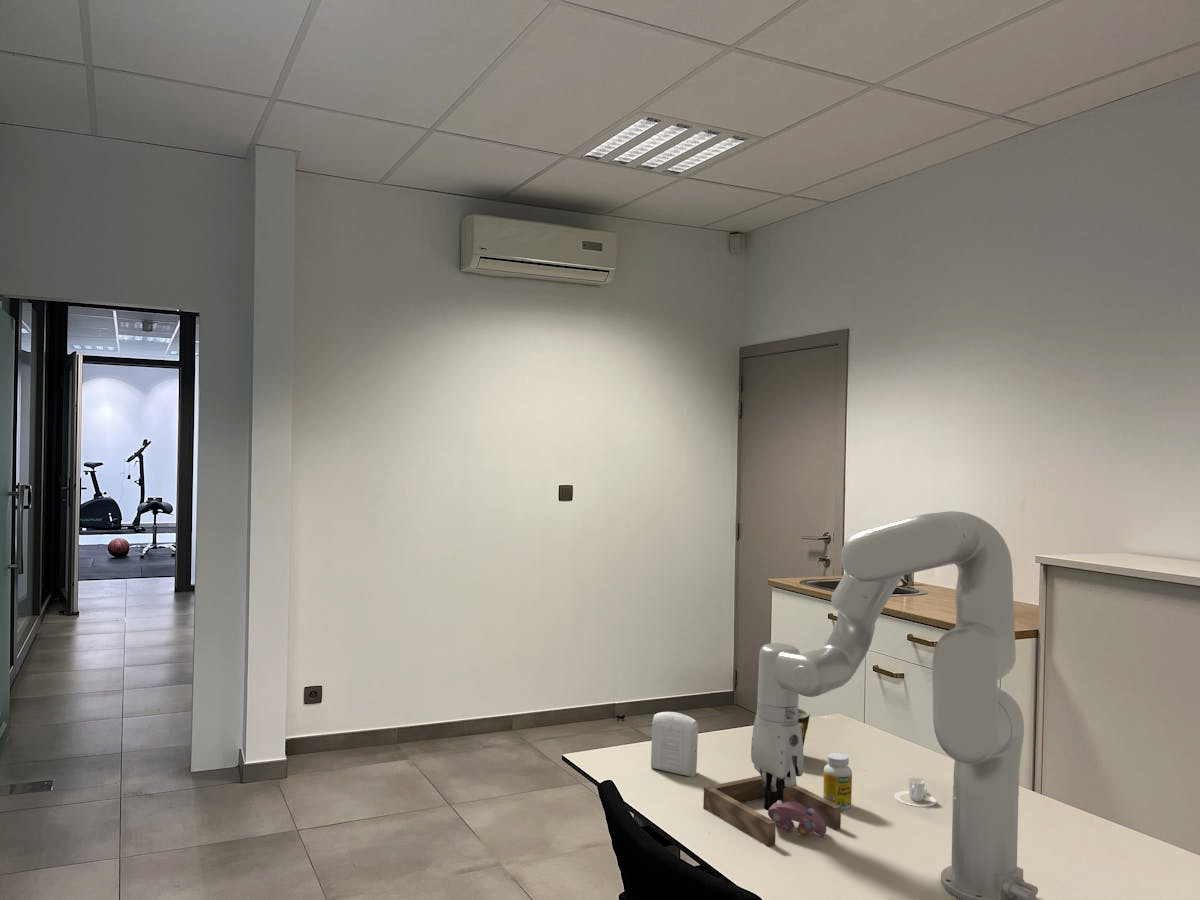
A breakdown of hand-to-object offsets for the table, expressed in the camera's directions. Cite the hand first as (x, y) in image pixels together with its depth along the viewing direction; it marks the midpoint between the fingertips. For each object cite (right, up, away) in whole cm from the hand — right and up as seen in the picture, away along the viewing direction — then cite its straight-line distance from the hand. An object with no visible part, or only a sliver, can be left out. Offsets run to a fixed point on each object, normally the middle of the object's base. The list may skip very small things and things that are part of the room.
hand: (773, 809), depth 167 cm
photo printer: (-16, -2, +25) cm, 30 cm away
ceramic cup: (+10, -3, +35) cm, 36 cm away
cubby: (0, -2, +1) cm, 2 cm away
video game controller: (+3, -2, -5) cm, 7 cm away
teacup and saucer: (+34, -4, +12) cm, 36 cm away
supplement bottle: (+14, -3, +8) cm, 16 cm away
